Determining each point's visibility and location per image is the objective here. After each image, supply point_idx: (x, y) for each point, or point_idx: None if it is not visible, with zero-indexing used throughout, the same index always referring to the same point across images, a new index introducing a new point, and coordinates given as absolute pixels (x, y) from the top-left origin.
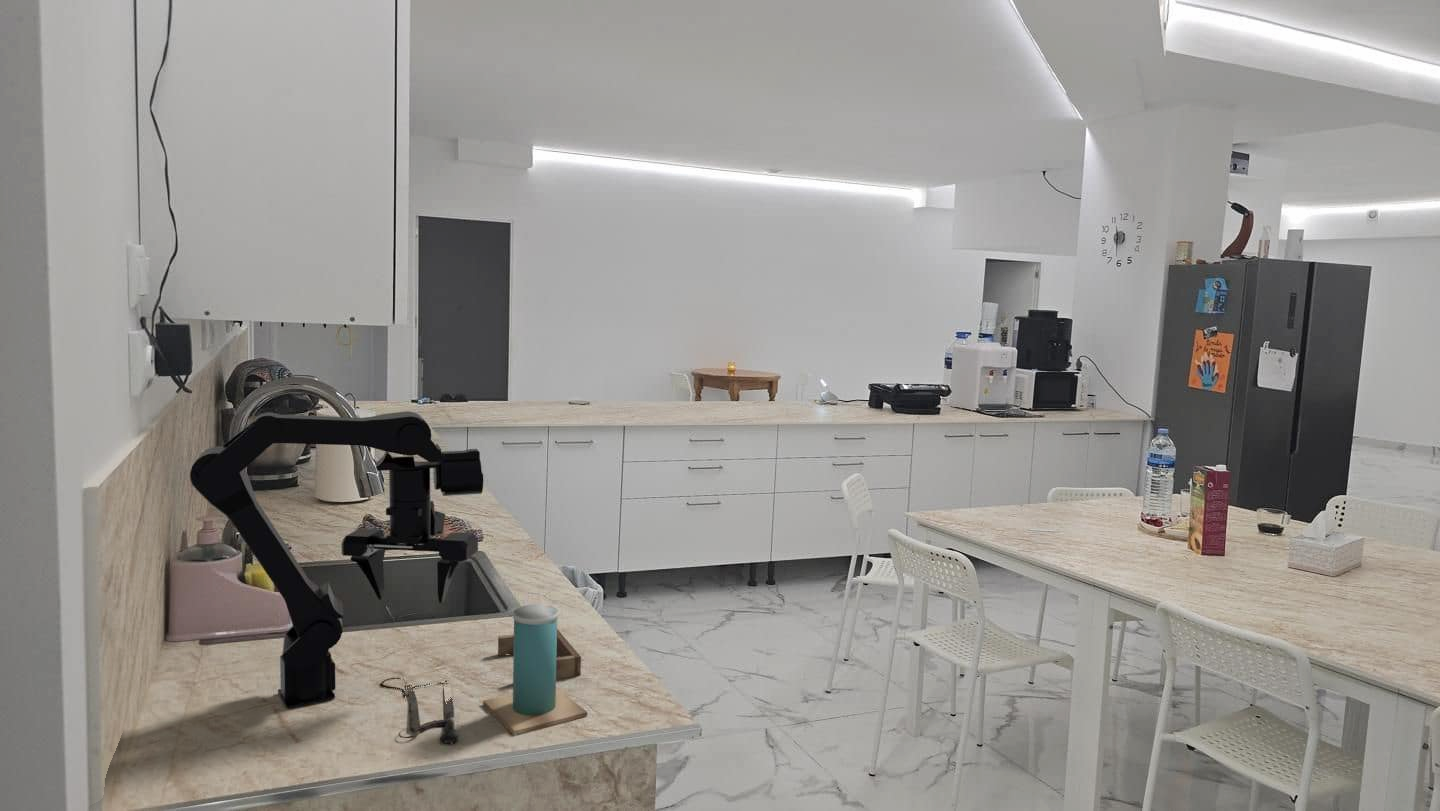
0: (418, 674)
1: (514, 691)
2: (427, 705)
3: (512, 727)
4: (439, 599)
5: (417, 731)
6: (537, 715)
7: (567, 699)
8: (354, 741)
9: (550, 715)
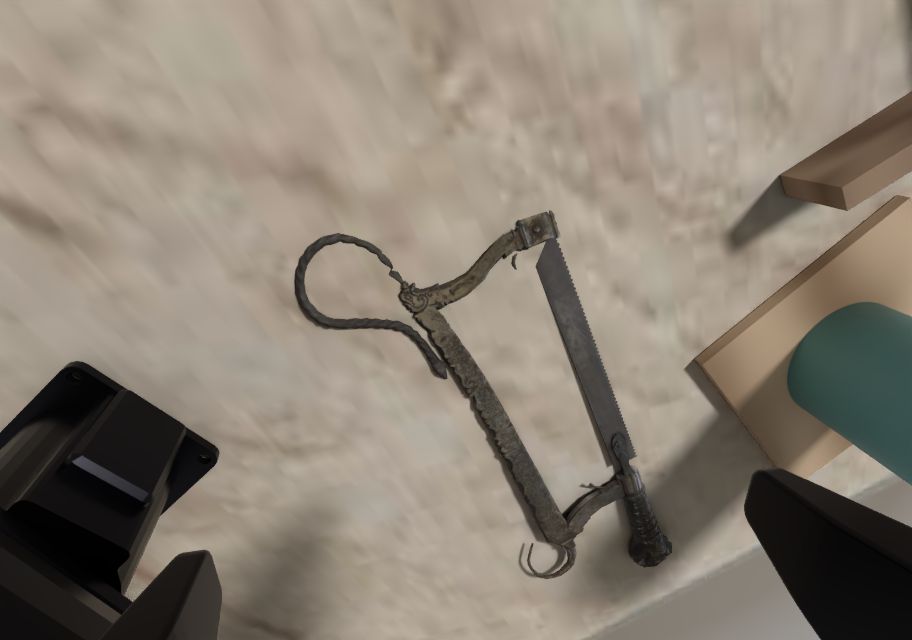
0: (400, 180)
1: (839, 430)
2: (534, 403)
3: None
4: (770, 546)
5: (572, 553)
6: None
7: None
8: (431, 601)
9: None
